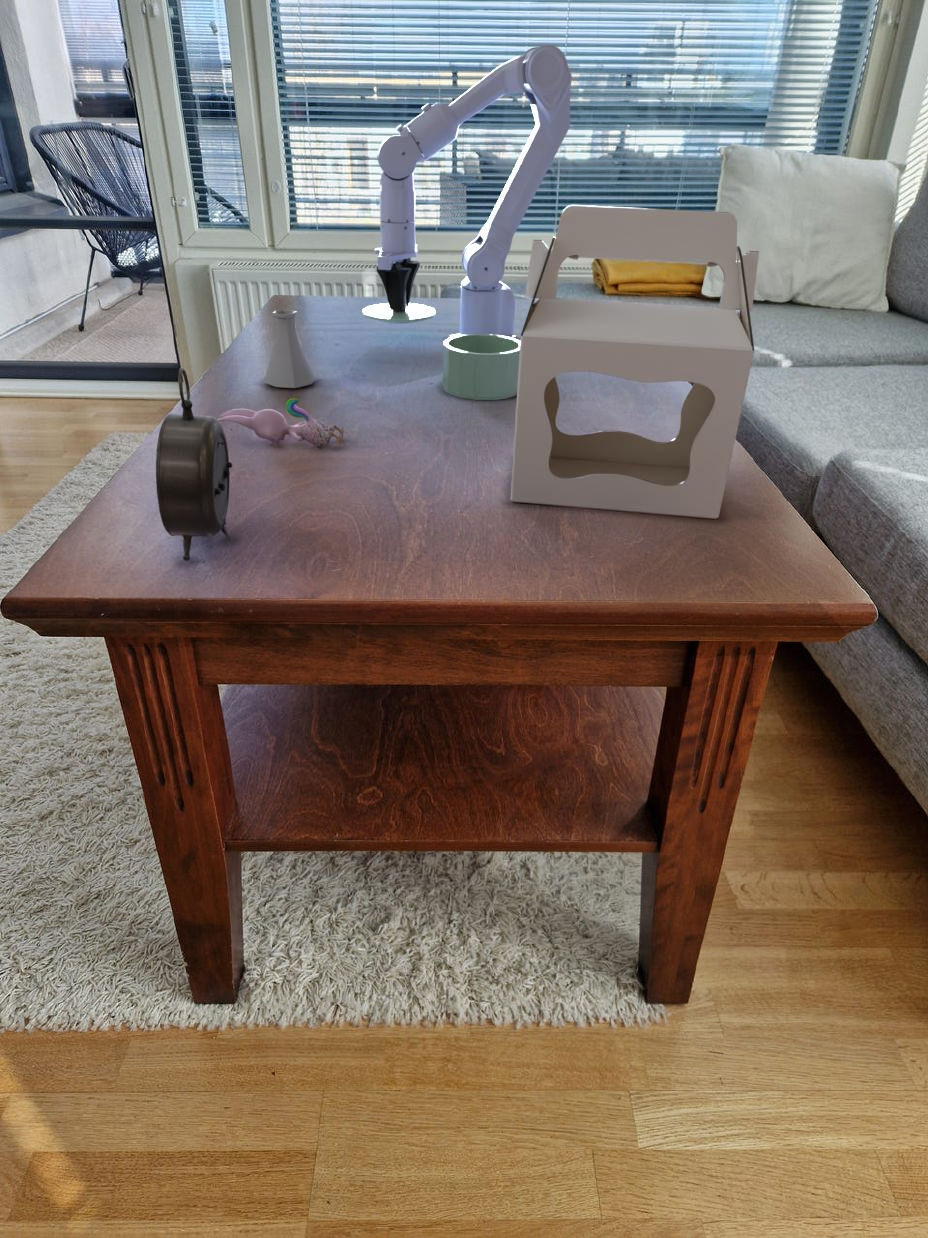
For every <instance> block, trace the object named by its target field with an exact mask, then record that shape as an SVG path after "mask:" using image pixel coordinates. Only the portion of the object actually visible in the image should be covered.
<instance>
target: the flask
mask: <svg viewBox="0 0 928 1238" xmlns="http://www.w3.org/2000/svg"><path fill="white" fill-rule="evenodd" d="M271 313H272V317H274V320H275V333H274V342H273V345H272V350H271V354H270V359H269V362H268V366H267V369H266V372H265V377H264V381H263V383H264V384H267V385H270V386H273V387H274V388H285V389H286V388H287V389H296V388H298V389H299V388H301V387H306V386H309V385H310V386H311V385H312V384H313V383H314V382H315V381H316V380H317V377H316V375H315V372H314V370H313V368H312V366H311V363H310V362H309V359H308V357H307V356H306V353H305V350H304V348H303V345H302V343H301V340H300V338H299V334H298V330H297V325H296V317H297V314H298V312H297V310H293V309H283V308H282V309H277V310H274V311H272V312H271Z"/></svg>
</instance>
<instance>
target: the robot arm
mask: <svg viewBox="0 0 928 1238" xmlns="http://www.w3.org/2000/svg"><path fill="white" fill-rule="evenodd" d="M572 80H573V76H572V72H571V70H570V67H569V64H568V60H567V57H566V56H565V54H564V52H563V51H562V50H561V49H560V48H559V47H558V46H556V45H553V44H550V43H549V44H547V43H545V44H542V45H539V46H535V47H531V48H529V49H527V50H526V51H525V52H524V53H523V54H521V55H518V56H516V57H513V58H512V59H510V60H508V61H506V62H504V63H502V64H500V65H498V66H497V67H495V68H494V69H493V70H492V71H491V72H489V73H488V74H487V75H485V76H484V77H483V78H482V79H481V80H479V81H478V82H477V83H475V84H474V85H472V86H471V87H470V88H469V89H467V90H466V91H465V92H464V93H463V94H461V95H460V96H459V97H457V98H456V99H454V101H452V102H451V103H449V104H445V103H441V102H435V103H433V104H431V105H430V103H426V104H425V105H423V106H422V107H421V110H422V113H420V114H419V115H417V116H416V117H414V118H413V119H412V120H410V121H409V122H408V123H406V124H405V125H404V126H403V125H402V124H399V125H398V126H397V127H396V131H397V133H398V135H397V134H396V135H391V136H387V137H386V138H385V139H384V140H383V141H382V142H381V144H380V146H379V148H378V152H377V153H378V154H377V156H376V157H377V162H378V165H379V167H380V169H381V170H382V171H380V175H379V184H380V185H379V186H380V188H379V194H378V195H379V222H380V223H379V225H380V228H379V229H380V247H377V248H375V249H374V255H378V256H377V264H376V273H377V274H378V277H380V280H381V282H382V286H383V287H384V291H385V294H386V299H387V303H389V307H390V310H397V311H402V310H403V307H404V300H405V290H406V307H408V305H409V303H410V300H411V295H412V290H413V285H414V281H415V278H416V276H417V273H418V271H419V269H420V267H421V262H420V261H418V260H412V258H417V257H418V244H416V190H415V188H414V172H415V169H416V168H417V164H418V163H425V162H426V161H428V160H429V159H431V158H432V157H434V156H435V155H437V153H439V152H440V151H441V150H443V149H444V148H446V147H447V146H448V145H450V144H451V143H453V142H454V141H456V140H457V137H458V133H459V127H460V126H461V125H462V124H463V123H464V122H466V121H468V120H469V119H471V118H472V117H473V116H475V115H477V113H479V112H481V111H482V110H484V109H485V108H487V107H489V106H490V105H491V104H492V103H494V102H495V101H497V100H499V99H500V98H501V97H503V96H506V95H516V94H525V96H526V98H527V99H528V101H529V103H530V107H531V111H532V115H533V118H534V122H535V125H534V128H533V129H532V132H531V133H530V135H529V138H528V139H527V142H526V144H525V146H524V148H523V150H522V152H521V153H520V156H519V158H518V159H517V161H516V164H515V165H514V167H513V169H512V172H511V174H510V175H509V177H508V180H507V181H506V184H505V185H504V188H503V190H502V191H501V193H500V196H499V198H498V199H497V201H496V203H495V205H494V207H493V209H492V212H491V214H490V216H489V217H488V220H487V221H486V223H484V225H483V227H481V229H480V230H479V232H478V235H477V237H475V239H473V240H472V241H471V242H470V243H468V244H467V246H466V247H465V248H464V250H463V252H462V256H461V265H462V268H463V270H464V272H465V273H466V276H465V278H464V279H463V280H462V281H461V282H460V304H459V305H460V306H459V307H460V309H459V316H460V317H459V332H458V333H454V334H450V335H449V338H450V337H454V336H458V335H466V334H492V335H500V336H506V337H510V338H517V335H514V328H515V310H516V299H515V295H514V293H513V290H512V289H511V288H510V287H509V286H508V285H507V284H505V283H503V281H502V280H503V277H504V274H505V269H506V268H505V266H506V265H505V264H506V260H507V257H508V255H509V254H510V250H511V247H512V243H513V238H514V236H515V235H516V232H517V230H518V228H519V226H520V224H521V222H522V220H523V219H524V216H525V215H526V213H527V211H528V209H529V207H530V205H531V203H532V201H533V199H534V197H535V195H536V193H537V192H538V189H540V186H541V184H542V182H543V180H544V178H545V176H546V173H547V172H548V170H549V168H550V167H551V165H552V162H553V161H554V159H555V157H556V155H557V153H558V151H559V149H560V147H561V145H562V143H563V141H564V139H565V138H566V135H567V134H568V132H569V129H570V126H571V87H572Z"/></svg>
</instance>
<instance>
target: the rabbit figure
mask: <svg viewBox="0 0 928 1238" xmlns="http://www.w3.org/2000/svg"><path fill="white" fill-rule="evenodd" d="M299 402H301V400H300V399H298V398H294V397H293V398H289V399H288V400H287V402H286V411H287V413H288V414H289V415H290V416H292V417H294V418H301V419H304V421H301V422H298V423H296V424H294V425H290V424H288V423H287V420H286V417H285V416H284V415H283V414H282V413H281V412H280V411H277V410H275V409H273V408H272V409H271V408H263V409H261V410H258V411H255V410H252V409H248V408H234V409H233V408H232V409H230V410H228V411H226V412H223V413H222V414H220V415H219V418H216V420H217V421H218V422H219V423H220V422H224V421H225V422H226V421H228V422H233V423H236V424H239V425H241V426H244V427H245V428H248V429H250V430H252V431H253V432H254V434H255V435H256V436H257V437H258V438H260V439H264V440H266V441H268V442H271V443H273V444H276V445H278V444H280V442H282V441H285V439H286V435H289V436H291V437H292V438H293V439H294V440H296V441H298V442H301V441H307V442H308V443H309V444H312V445H314V446H315V447H318V448H324V447H327V446H328V445H329V443H330V440H331V438H332V437H334V438H335V439H336V442H337V446H336V447H337V448H338V449H340V445H341V441H343V439H342V438H344V432H345V431H344V428H345V426H342V427H341V428H340V427H338V426H337V425H336V424H332V425H326V423H323V421H321V420H319V419H315V418H312V417H311V416H310V415H309V413H308V412H307V411H306V410H305V409H303V408H301V407H299V406H297V405H296V404H297V403H299ZM335 431H338V432H339V434H338V435H337V434H336V433H334V432H335Z"/></svg>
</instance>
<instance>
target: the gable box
mask: <svg viewBox="0 0 928 1238" xmlns="http://www.w3.org/2000/svg"><path fill="white" fill-rule="evenodd" d="M759 256H760V251H759V250H748V251H747V252H746V253H744V254H743V253H742V250H741V247H740V246H739V245H738V220H737V218H736V216H735V215H734V214H733V213H731V212H728V211H713V210H712V211H711V210H710V211H709V210H693V209H692V210H690V209H689V210H687V209H669V208H646V207H628V206H627V207H624V206H603V205H602V206H601V205H585V204H584V205H583V204H569V205H567V206H566V207H565V208H564V209H563V210H562V212H561V213H560V218H559V222H558V227H557V230H556V234H555V236H552V239H551V242H550V245H549V246H548V245H547V244H546V243H545V241H544V240H543V239H532V246H531V252H530V259H529V266H528V273H527V279H526V287H525V293H524V298H525V299H532V300H531V302H530V306H529V309H528V312H527V314H526V317H525V321H524V324H523V327H522V329H521V333H520V340H519V341H520V355H519V371H518V387H517V395H516V404H515V405H516V406H515V420H514V421H515V422H514V433H513V435H514V437H513V450H512V451H513V453H512V468H511V469H512V470H511V484H510V502H512V503H521V504H531V505H543V506H544V505H545V506H555V507H556V506H557V507H565V508H567V507H568V508H581V509H593V510H602V511H616V512H629V513H639V514H649V515H650V514H652V515H661V516H662V515H663V516H676V517H689V518H697V519H699V518H700V519H711V520H712V519H713V520H716V519H719V517H720V513H721V508H722V504H723V499H724V494H725V489H726V485H727V480H728V475H729V471H730V466H731V461H732V456H733V452H734V448H735V443H736V438H737V433H738V428H739V425H740V419H741V415H742V410H743V405H744V401H745V395H746V393H747V386H748V381H749V378H750V373H751V367H752V362H753V358H754V355H755V354H754V353H755V343H754V336H753V328H752V320H751V319H752V318H751V313H750V312H752V311H753V306H754V305H753V304H754V297H755V290H756V289H755V288H756V281H757V272H758V265H759ZM567 258H569V259H572V260H575V261H576V260H578V259H579V258H580V259H596V260H615V261H634V262H636V261H637V262H654V263H670V264H671V263H673V264H691V265H692V264H693V265H706V266H707V267H709V268H713V267H716V266H718V267H719V268H720V270H721V271H722V274H723V284H722V288H721V294H720V298H719V299H720V300H719V304H718V307H717V306H700V305H682V304H665V303H648V302H632V301H631V302H630V301H616V300H615V301H613V300H612V301H611V300H596V299H595V300H594V299H581V298H580V299H579V298H578V299H577V298H563V297H557V294H558V293H557V292H558V291H557V290H558V281H559V271H560V268H561V265H562V264H563V262H564V261H565V260H566V259H567ZM536 299H537V300H536ZM580 372H581V373H594V374H595V373H596V374H601V375H607V376H612V377H615V378H619V379H624V380H628V381H631V382H638V383H644V384H645V383H647V384H652V383H653V384H654V383H656V384H657V383H671V382H673V383H674V382H685V383H686V382H688V383H693V384H692V387H691V388H690V390H689V392H688V394H687V395H686V397H685V399H684V402H683V403H682V407H681V410H680V422H679V423H680V424H679V425H680V426H679V430H678V433H677V435H676V436H675V438H673V439H671V440H669V441H656V440H652V439H649V438H646V437H644V436H641V435H638V434H636V433H631V432H627V431H622V430H600V431H594V432H588V433H579V434H573V433H565V432H563V431H562V430H560V429H559V428H558V426H557V422H556V420H557V416H558V415H557V414H558V411H559V407H560V390H559V385H558V381H557V378H556V377H557V376H561V375H562V374H567V373H580Z"/></svg>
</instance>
